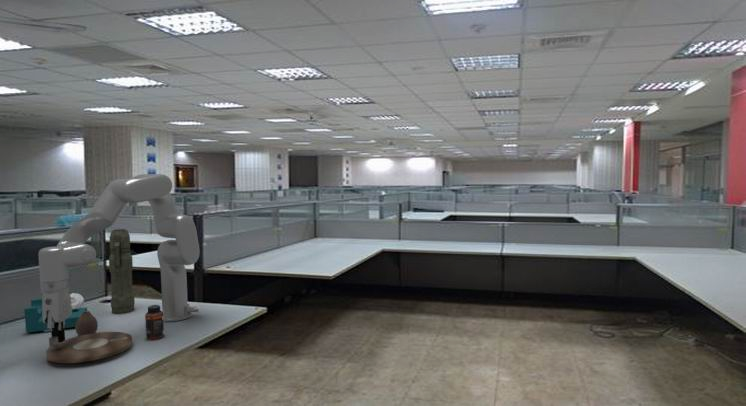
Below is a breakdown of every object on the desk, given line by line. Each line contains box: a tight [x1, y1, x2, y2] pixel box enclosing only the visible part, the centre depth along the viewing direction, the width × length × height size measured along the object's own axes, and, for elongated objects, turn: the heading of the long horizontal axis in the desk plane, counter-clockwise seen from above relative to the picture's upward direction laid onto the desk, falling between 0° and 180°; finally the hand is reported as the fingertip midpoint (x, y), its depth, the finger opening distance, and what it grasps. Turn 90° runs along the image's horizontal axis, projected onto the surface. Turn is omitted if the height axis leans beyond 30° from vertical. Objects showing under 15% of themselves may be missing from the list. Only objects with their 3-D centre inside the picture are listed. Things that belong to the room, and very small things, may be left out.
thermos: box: [108, 228, 135, 315], centre depth 202 cm, size 9×12×35 cm
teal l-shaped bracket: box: [23, 298, 88, 334], centre depth 182 cm, size 18×11×10 cm, turn 113°
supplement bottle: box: [144, 304, 165, 341], centre depth 169 cm, size 6×6×11 cm
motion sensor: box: [70, 292, 85, 309], centre depth 204 cm, size 8×8×8 cm
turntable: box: [45, 331, 133, 364], centre depth 155 cm, size 24×24×6 cm
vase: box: [74, 310, 99, 336], centre depth 172 cm, size 7×7×9 cm
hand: (58, 341), depth 153 cm, fingers closed
